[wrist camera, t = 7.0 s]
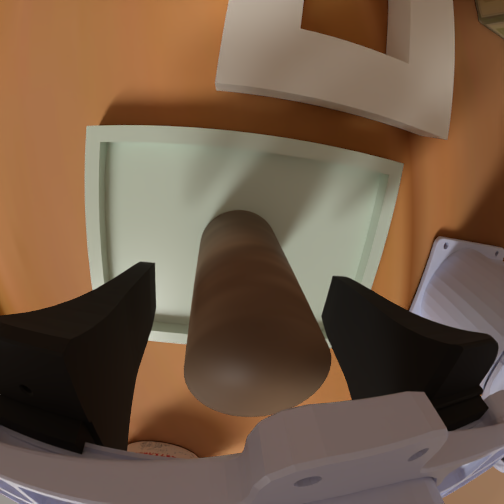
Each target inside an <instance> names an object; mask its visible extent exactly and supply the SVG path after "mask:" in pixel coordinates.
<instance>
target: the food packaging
mask: <svg viewBox="0 0 504 504" xmlns="http://www.w3.org/2000/svg"><path fill="white" fill-rule="evenodd" d="M475 2H476V8H477V11H478V19H479V22H480V23H481V24H483V25H485V26H486V27H487V28H489V29H490V30H492V31H493V32H495V33H496V34H497V35H499V36H500V37H502V38H503V39H504V0H475Z"/></svg>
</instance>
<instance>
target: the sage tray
mask: <svg viewBox="0 0 504 504" xmlns="http://www.w3.org/2000/svg"><path fill="white" fill-rule="evenodd" d="M403 165H404V164H403V163H400V162H396V161H392V160H389V159H385V158H381V157H377V156H373V155H369V154H365V153H361V152H356V151H352V150H348V149H343V148H338V147H334V146H329V145H324V144H318V143H313V142H308V141H302V140H296V139H290V138H284V137H277V136H270V135H263V134H256V133H248V132H239V131H230V130H219V129H208V128H195V127H178V126H153V125H102V126H87V130H86V148H85V214H86V232H87V245H88V256H89V266H90V274H91V282H92V289H93V290H94V289H96V288H98V287H100V286H101V285H103V284H105V283H106V282H108V281H110V280H112V279H113V278H115V277H116V276H118V275H119V274H121V273H122V272H124V271H126V270H127V269H129V268H130V267H132V266H133V265H135V264H136V263H138V262H140V261H141V262H152V263H155V283H156V311H155V316H154V321H153V326H152V330H151V333H150V336H149V339H148V340H149V341H158V342H168V343H179V344H187V336H188V328H189V319H190V311H191V303H192V296H193V288H194V281H195V274H196V267H197V260H198V254H199V247H200V241H201V237H202V234H203V231H204V230H205V228H206V226H207V225H208V224H209V223H210V222H211V221H212V220H213V219H214V218H215V217H217V216H218V215H220V214H222V213H225V212H228V211H233V210H245V211H250V212H253V213H255V214H257V215H259V216H261V217H262V218H263V219H265V220H266V221H267V222H268V224H269V225H270V226H271V228H272V230H273V232H274V234H275V236H276V238H277V240H278V242H279V244H280V246H281V248H282V250H283V252H284V254H285V256H286V258H287V260H288V262H289V264H290V266H291V268H292V270H293V272H294V274H295V276H296V278H297V280H298V283H299V285H300V287H301V289H302V291H303V293H304V295H305V297H306V299H307V301H308V303H309V305H310V308H311V310H312V312H313V314H314V316H315V318H316V320H317V322H318V325H319V327H320V329H321V331H322V333H323V335H324V337H325V340H326V342H327V344H328V346H329V348H332V347H331V345H330V342H329V340H328V338H327V335H326V332H325V329H324V325H323V321H322V317H321V315H322V312H323V308H324V305H325V302H326V298H327V295H328V291H329V287H330V284H331V280H332V276H346V277H348V278H351V279H353V280H355V281H357V282H358V283H360V284H362V285H364V286H365V287H367V288H369V289H370V290H371V287H372V284H373V281H374V278H375V275H376V272H377V269H378V265H379V262H380V259H381V255H382V252H383V249H384V245H385V242H386V238H387V234H388V231H389V227H390V223H391V219H392V215H393V211H394V207H395V203H396V198H397V194H398V190H399V185H400V180H401V176H402V171H403Z"/></svg>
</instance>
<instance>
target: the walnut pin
mask: <svg viewBox="0 0 504 504" xmlns="http://www.w3.org/2000/svg"><path fill="white" fill-rule="evenodd" d="M330 366H331V353H330V349H329V346H328V344H327V342H326V340H325V337H324V335H323V333H322V331H321V329H320V327H319V325H318V322H317V320H316V318H315V316H314V314H313V312H312V310H311V308H310V305H309V303H308V301H307V299H306V297H305V295H304V293H303V291H302V289H301V287H300V285H299V283H298V280H297V278H296V276H295V274H294V272H293V270H292V268H291V266H290V264H289V262H288V260H287V258H286V256H285V254H284V252H283V250H282V248H281V246H280V244H279V242H278V240H277V238H276V236H275V234H274V232H273V230H272V228H271V226H270V225H269V224H268V222H267V221H266V220H265V219H263V218H262V217H261V216H259V215H257V214H255V213H253V212H250V211H245V210H233V211H228V212H225V213H222V214H220V215H218V216H217V217H215V218H214V219H213V220H212V221H211V222H210V223H209V224H208V225H207V226H206V228H205V230H204V231H203V234H202V237H201V241H200V247H199V254H198V260H197V267H196V274H195V281H194V288H193V296H192V303H191V311H190V319H189V328H188V336H187V345H186V355H185V364H184V378H185V382H186V384H187V387H188V389H189V390H190V392H191V393H192V394H193V396H194V397H195V398H196V399H197V400H199V401H200V402H201V403H202V404H204V405H206V406H207V407H209V408H211V409H213V410H215V411H218V412H221V413H224V414H228V415H233V416H241V417H257V416H266V415H271V414H275V413H277V412H279V411H281V410H284V409H289V408H292V407H295V406H296V405H298V404H300V403H302V402H303V401H305V400H306V399H308V398H309V397H310V396H312V395H313V394H314V393H315V392H316V391H317V390H318V389H319V388H320V386H321V385H322V384H323V383H324V381H325V379H326V377H327V375H328V373H329V370H330Z"/></svg>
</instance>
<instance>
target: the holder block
mask: <svg viewBox="0 0 504 504" xmlns="http://www.w3.org/2000/svg"><path fill="white" fill-rule="evenodd" d="M303 4H304V0H229V3H228V8H227V13H226V19H225V24H224V30H223V36H222V42H221V48H220V54H219V60H218V66H217V73H216V80H215V86H216V90H217V91H228V92H237V93H245V94H253V95H260V96H267V97H274V98H280V99H286V100H291V101H297V102H302V103H307V104H312V105H316V106H321V107H325V108H330V109H334V110H338V111H342V112H346V113H350V114H354V115H357V116H361V117H365V118H368V119H372V120H375V121H378V122H382V123H385V124H388V125H391V126H394V127H397V128H400V129H403V130H406V131H409V132H412V133H415V134H417V135H420V136H425V137H432V138H438V139H444V140H447V139H448V132H449V125H450V117H451V108H452V97H453V84H454V63H455V30H454V10H453V0H388V28H387V45H386V54H383V53H381V52H378V51H375V50H373V49H370V48H367V47H364V46H361V45H358V44H355V43H352V42H349V41H346V40H342V39H339V38H336V37H332V36H328V35H325V34H321V33H317V32H313V31H309V30H305V29H300V28H301V20H302V12H303Z"/></svg>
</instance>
